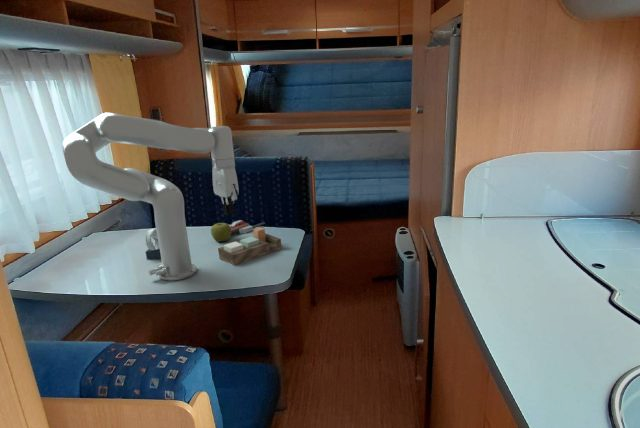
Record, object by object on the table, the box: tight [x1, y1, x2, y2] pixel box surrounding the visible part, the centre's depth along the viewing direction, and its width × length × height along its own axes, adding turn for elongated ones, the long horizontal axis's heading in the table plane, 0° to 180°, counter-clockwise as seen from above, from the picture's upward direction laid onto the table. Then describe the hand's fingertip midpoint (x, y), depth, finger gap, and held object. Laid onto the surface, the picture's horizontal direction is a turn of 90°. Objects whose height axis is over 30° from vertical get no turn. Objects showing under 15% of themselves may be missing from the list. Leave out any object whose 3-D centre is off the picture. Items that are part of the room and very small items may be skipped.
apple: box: [210, 222, 232, 242], centre depth 189 cm, size 8×8×7 cm
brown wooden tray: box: [217, 232, 283, 266], centre depth 174 cm, size 21×10×4 cm, turn 131°
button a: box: [223, 241, 243, 253], centre depth 169 cm, size 5×5×3 cm
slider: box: [252, 226, 266, 242], centre depth 180 cm, size 3×3×5 cm
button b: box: [239, 236, 259, 247], centre depth 174 cm, size 5×5×3 cm
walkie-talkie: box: [228, 219, 266, 238], centre depth 201 cm, size 9×4×20 cm
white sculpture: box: [145, 228, 161, 260], centre depth 175 cm, size 6×8×11 cm
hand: (229, 214), depth 166 cm, fingers closed
